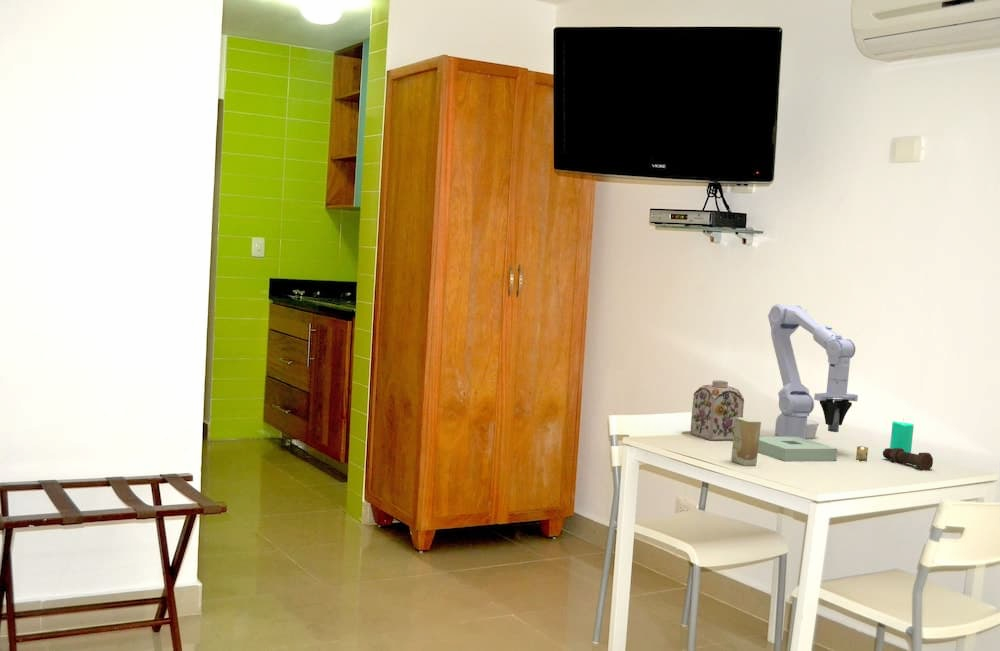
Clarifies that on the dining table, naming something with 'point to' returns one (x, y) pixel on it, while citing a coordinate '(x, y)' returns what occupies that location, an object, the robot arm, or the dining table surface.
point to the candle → (901, 436)
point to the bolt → (909, 458)
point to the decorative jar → (716, 411)
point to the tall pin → (835, 421)
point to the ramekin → (811, 429)
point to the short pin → (862, 453)
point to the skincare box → (746, 441)
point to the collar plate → (796, 449)
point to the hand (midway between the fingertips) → (833, 424)
